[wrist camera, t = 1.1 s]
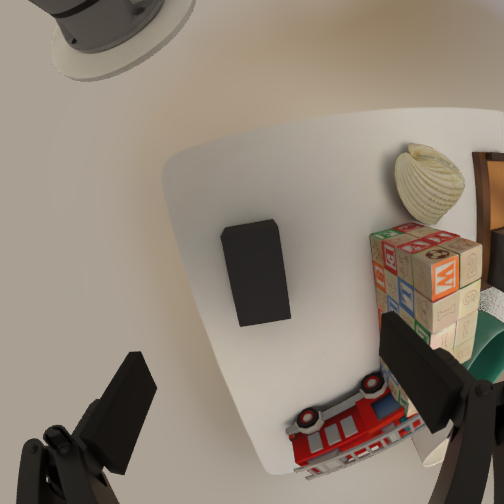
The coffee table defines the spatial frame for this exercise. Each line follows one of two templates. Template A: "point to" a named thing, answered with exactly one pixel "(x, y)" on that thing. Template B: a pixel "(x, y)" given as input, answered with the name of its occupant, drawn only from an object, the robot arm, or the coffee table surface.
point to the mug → (487, 348)
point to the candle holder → (431, 444)
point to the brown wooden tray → (490, 216)
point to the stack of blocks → (428, 289)
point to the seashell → (427, 183)
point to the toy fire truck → (350, 429)
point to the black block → (256, 272)
